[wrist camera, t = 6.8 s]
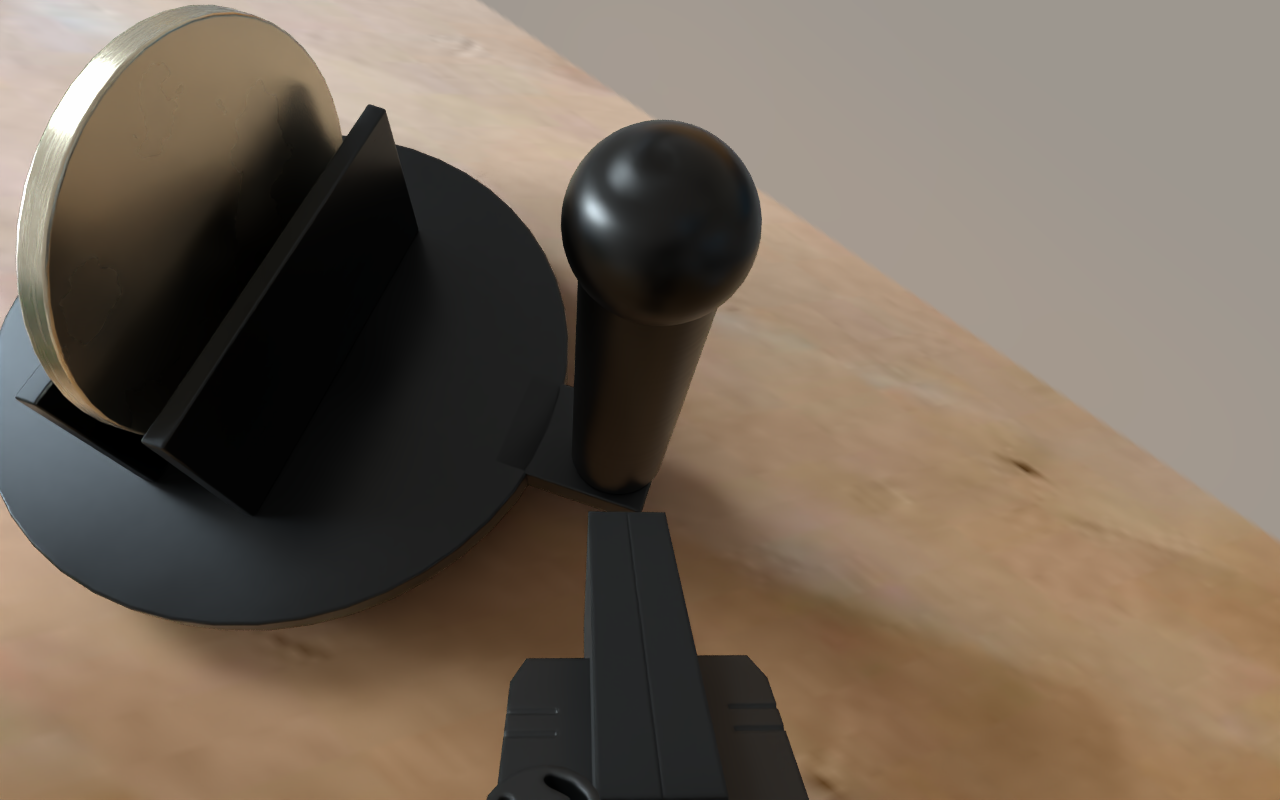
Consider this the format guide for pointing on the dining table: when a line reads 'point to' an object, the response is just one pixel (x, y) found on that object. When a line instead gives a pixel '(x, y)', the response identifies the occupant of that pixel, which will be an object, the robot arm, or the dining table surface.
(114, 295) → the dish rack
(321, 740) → the dining table surface
